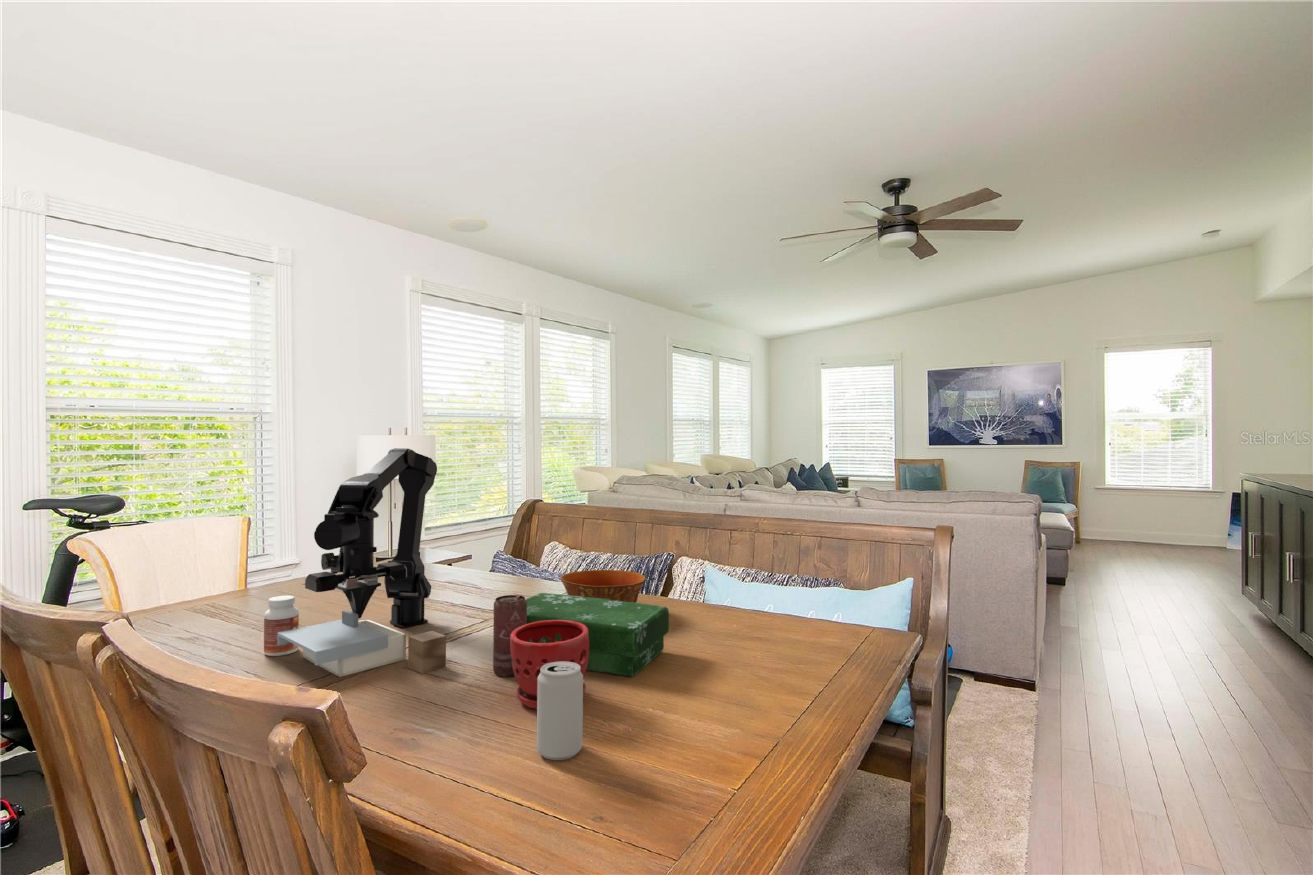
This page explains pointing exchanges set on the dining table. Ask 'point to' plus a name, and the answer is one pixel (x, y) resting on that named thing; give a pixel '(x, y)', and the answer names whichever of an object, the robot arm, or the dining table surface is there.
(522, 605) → the can
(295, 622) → the pill bottle
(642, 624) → the box
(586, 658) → the plant pot
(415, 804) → the dining table surface
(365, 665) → the box
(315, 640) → the lid
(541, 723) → the beverage can
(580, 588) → the bowl
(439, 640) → the walnut block
